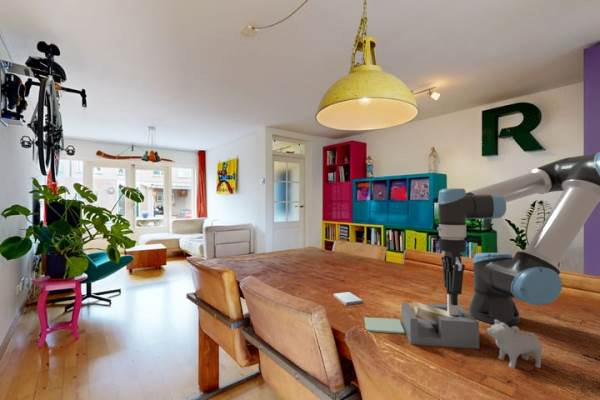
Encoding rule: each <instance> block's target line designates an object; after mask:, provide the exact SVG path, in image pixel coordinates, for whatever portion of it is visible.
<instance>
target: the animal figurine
mask: <svg viewBox="0 0 600 400" xmlns="http://www.w3.org/2000/svg"><path fill="white" fill-rule="evenodd" d="M494 321H495V324H492V325H491V327H487V329H486V332H487V334H488V335H489V336H490V337H491V338H492V339H494V340H495V341H494V342H495V344H496V346H497V347H498V348H499V355H498V357H497V359H498V360H501V361H502V360H504V359H505V356H506V355H507V356H508V358H509V363H508V367H509V368H512V369H515V368H516V364H517V360H518V357H519V356H520V355H522V359H523V360H525V361H526V360H527V361H529V357H530V355H532V356H533V357H534V359H535V368H539V369H540V368H541V366H542V351H543V345H542V343H541V341H540V340H539V339H538V338H537V335H535V333H534V332H529V331H528V332H527V331H524V332H523V333H520V328H519V327H518V326H517V325H511V327H510V325H506V324H505V323H502V322H500V321H498V320H494Z"/></svg>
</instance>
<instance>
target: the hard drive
mask: <svg viewBox="0 0 600 400" xmlns="http://www.w3.org/2000/svg"><path fill="white" fill-rule="evenodd" d="M332 295H333V297H334V298H335V299H337V300H339V301H340V302H341V303H342V304H343V305H345V306H348V305H357V304H358V305H359V304H364V300H363V299H361V298H360V297H358V296H357V295H355V294H354V293H351V292H350V291H345V292H339V293H338V292H337V293H333V294H332Z"/></svg>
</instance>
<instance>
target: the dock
mask: <svg viewBox="0 0 600 400" xmlns="http://www.w3.org/2000/svg"><path fill="white" fill-rule="evenodd" d="M427 305H428V306H432V307H435V308H439V309H442V310H446V311H447V303H433V302H432V303H429V302H427ZM455 316H456V317H445V316H438V325H435V324H432V323H428V322H425V321H421V320H418V319H417V317H416V316H415V314H414V312H413V310H412V306H410V304H409V302H405V301H401V325H402V327H403V329H404V332H405V334H406V337H407V339H408V341H409V345H417V346H418V345H419V346H431V347H432V346H433V347H447V348H461V349H462V348H463V349H473V350H474V349H475V350H480V321H479V320H478V319H476V318H474V317H473V316H471V315H470V314H469V311H467V310H466V308H464V307H463V306H462V305H461V304H458V315H455Z"/></svg>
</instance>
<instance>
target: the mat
mask: <svg viewBox="0 0 600 400" xmlns="http://www.w3.org/2000/svg"><path fill="white" fill-rule="evenodd" d="M363 318H364V319H363V320H364V327H365V330H366V329H367V330H369V331H371V332H372V333H384V334H385V333H387V334H399V335H403V334H404V335H405V334H406V332H405V330H404V328H403V325H402V321H401V320H400V319H398V318H386V317H385V318H383V317H366V316H364V317H363ZM371 332H370V333H371Z"/></svg>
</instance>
